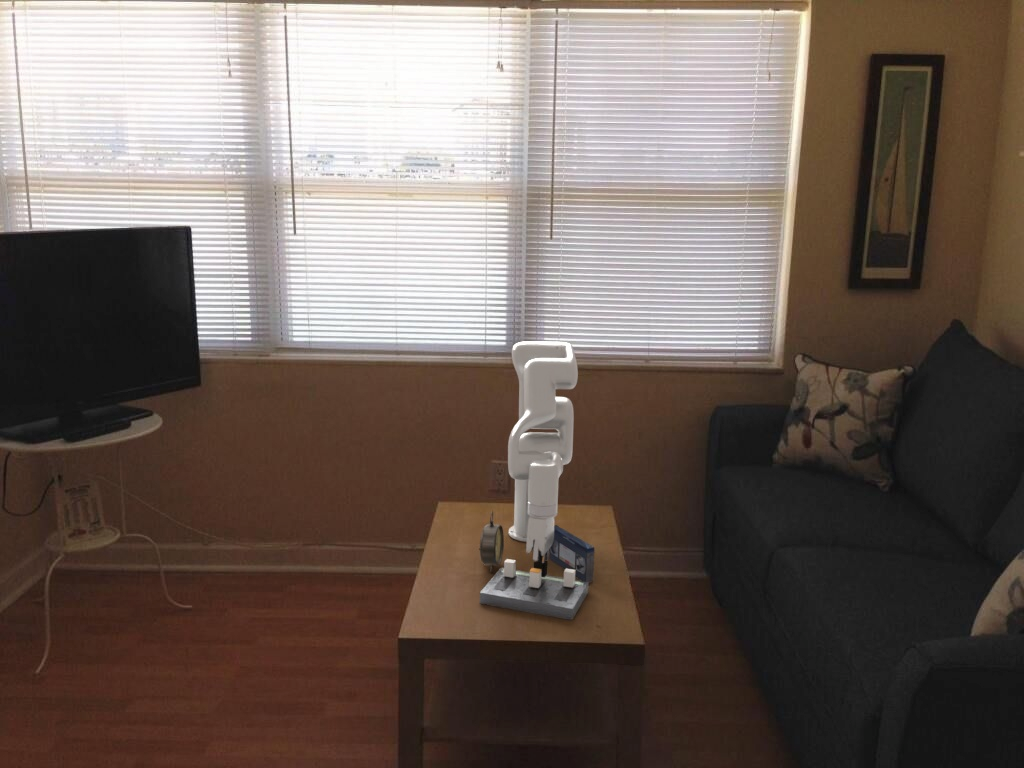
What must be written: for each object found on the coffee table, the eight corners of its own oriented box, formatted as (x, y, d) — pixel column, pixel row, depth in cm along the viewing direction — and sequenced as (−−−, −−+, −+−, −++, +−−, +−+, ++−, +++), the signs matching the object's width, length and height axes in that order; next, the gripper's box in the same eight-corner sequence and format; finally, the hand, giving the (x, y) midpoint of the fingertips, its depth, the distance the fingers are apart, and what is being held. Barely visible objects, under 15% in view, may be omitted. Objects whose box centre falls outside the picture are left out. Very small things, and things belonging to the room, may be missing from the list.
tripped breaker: (531, 583, 233) (532, 567, 232) (540, 584, 232) (541, 569, 231) (529, 586, 231) (529, 570, 230) (538, 588, 230) (539, 572, 229)
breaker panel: (500, 578, 243) (500, 567, 242) (588, 592, 236) (588, 581, 235) (479, 603, 228) (479, 592, 228) (572, 620, 221) (572, 608, 220)
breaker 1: (506, 573, 238) (506, 558, 237) (515, 574, 238) (515, 560, 237) (503, 576, 236) (504, 561, 236) (513, 577, 236) (513, 563, 235)
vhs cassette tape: (548, 559, 256) (549, 525, 254) (556, 557, 258) (558, 524, 256) (584, 584, 241) (585, 549, 239) (593, 582, 242) (595, 547, 240)
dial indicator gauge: (495, 575, 244) (497, 519, 241) (476, 573, 246) (477, 517, 242) (504, 559, 255) (505, 504, 251) (485, 557, 256) (486, 503, 252)
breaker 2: (565, 582, 233) (566, 568, 233) (574, 584, 233) (575, 569, 232) (563, 586, 232) (563, 571, 231) (572, 587, 231) (573, 572, 230)
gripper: (537, 497, 239) (534, 562, 243) (519, 516, 225) (517, 584, 229) (564, 500, 237) (562, 566, 241) (548, 520, 223) (546, 589, 227)
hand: (540, 575), depth 235 cm, fingers closed
